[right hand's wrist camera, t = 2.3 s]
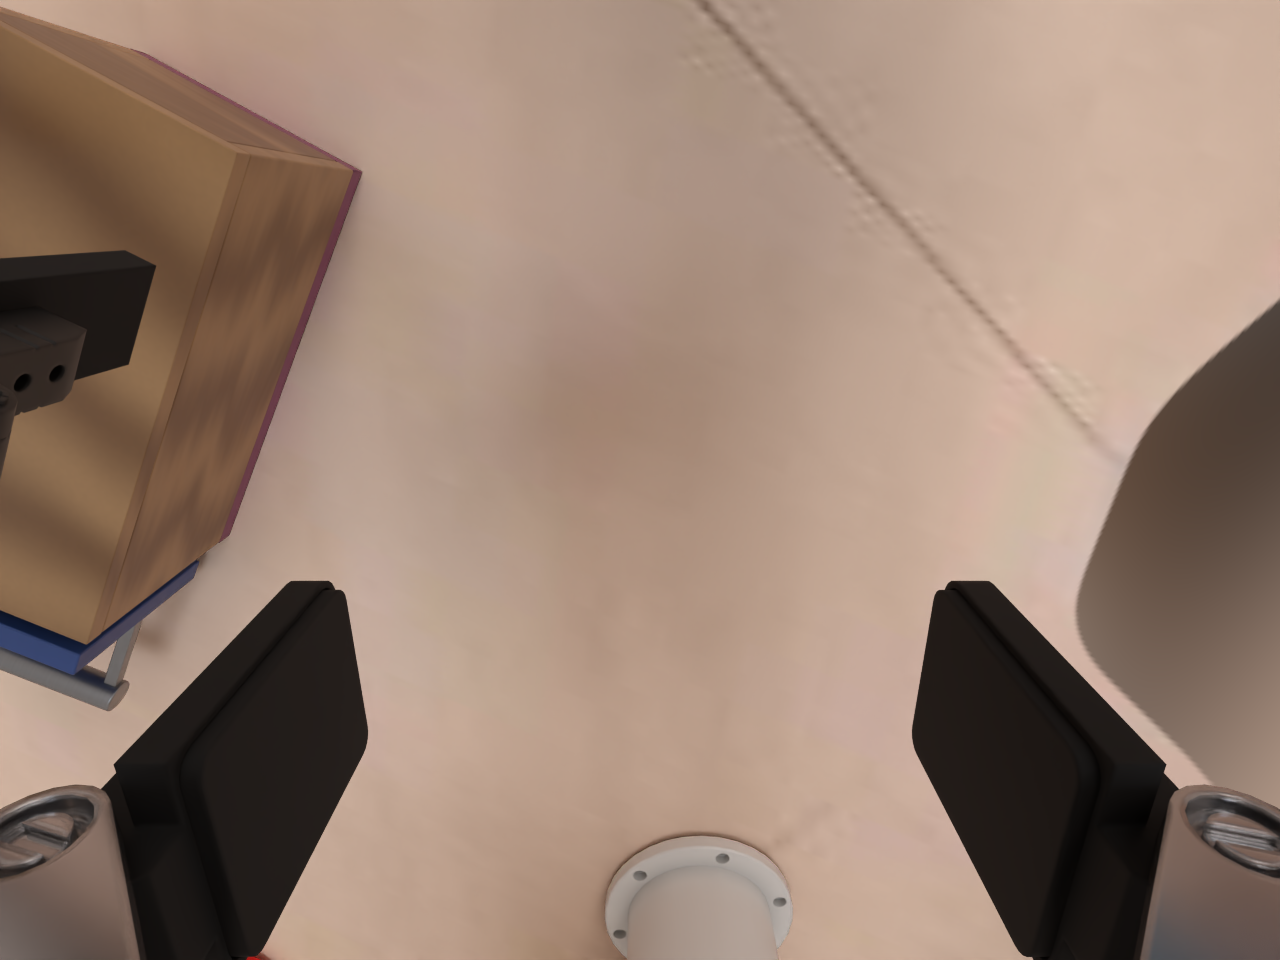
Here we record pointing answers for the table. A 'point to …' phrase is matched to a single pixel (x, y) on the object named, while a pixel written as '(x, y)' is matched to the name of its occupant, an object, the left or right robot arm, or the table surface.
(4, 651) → the drawer
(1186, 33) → the table surface
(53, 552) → the cabinet
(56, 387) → the left robot arm
